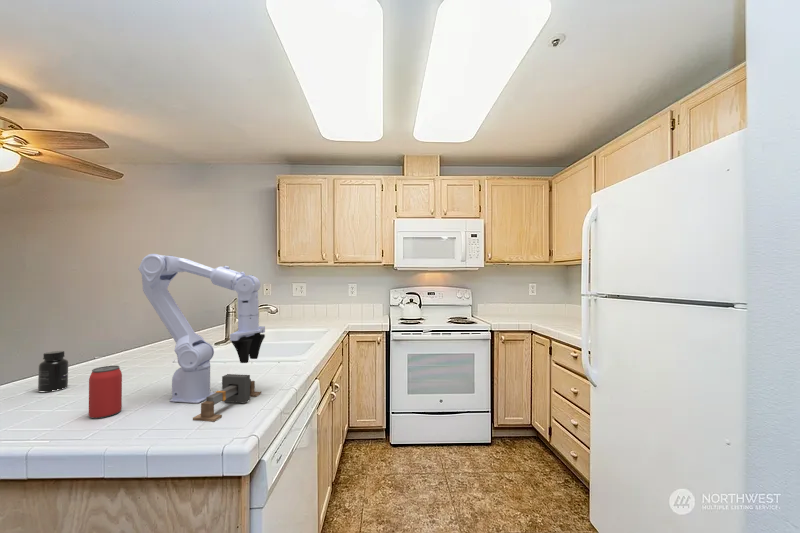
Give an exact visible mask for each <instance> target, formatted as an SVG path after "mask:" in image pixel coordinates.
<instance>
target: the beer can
mask: <svg viewBox="0 0 800 533" xmlns="http://www.w3.org/2000/svg"><path fill="white" fill-rule="evenodd" d="M122 394H123V372H122V370H121V369H120V366H119V365H105V366H99V367H96V368H93V369H91V374H90V375H89V379H88V417H89V418H91V419H102V418H101V417H104V418H108V417H107V416H109V417H112V416H114V414H115V415H116V414H118V413H120V412H121V411H122V407H123V406H122V403H123V402H122V401H123V399H122V397H123V395H122ZM111 415H112V416H111Z"/></svg>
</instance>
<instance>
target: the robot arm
mask: <svg viewBox="0 0 800 533" xmlns="http://www.w3.org/2000/svg"><path fill="white" fill-rule="evenodd" d="M138 271H139V272H140V274H141V279H142V280H141V283H142V292H143V294H144V295H145V296H146V298H147V300H148V301H149V303H150V305H151V307H153V309H154V311H155V312H156V314H157V315H158V317H159V318H160V321H162V323H163V324H164V326H165V328H166V329H167V331H168V332H169V335H171V338H173V340H174V342H175V347H174V352H175V354H176V357H177V358H176V359H177V363H178V365H179V368H178V369H176V370H175V371H174V373H173V375H172V378H171V399H169V402H174V403H189V404H190V403H192V404H193V403H194V404H200V403H202V402H205V401H206V397H208V396H210V395H212V394H214V393H215V392H216V391H211V360H212V358H214V355H215V354H214V353H215V350H214V347H213V345H212V344H210V343H209V342H207V341H206V340H205V339H204V337H203V336H201V335H200V334H198V333H196V331H195V330H194V329H193V327H192V326H191V324H190V322H189V321H188V319H187V318H186V316H185V315H184V313H183V312H182V310H181V309H180V306H178V304H177V303H176V301H175V299H174V297H173V296H172V294H171V293H170V291H169V290H168V288H169V287H170V286H169V285H170V284H171V281H173V279H174V278H175V277H176V276H177V275H178V273H184V272H185V273H190V274H193V275H197V276H199V277H204V278H207V279H209V280H210V282H211V284H213V286H214V285H215V286H219V287H221V288H224V289H227V290H231V291H233V292H236V293H237V330H236V331H235V332H232V333H230V334H229V341H230V342H231V344H232V345H233V347H234V349H235V351H236V352H237V356H238V359H239V363H240V364H247V363H249V359H250V360H258V358H259V353H260V349H261V346H262V344H263V341H264V339H265V337H266V334H265V332H266V326H260V318H259V313H260V312H259V308H260V307H259V290H260V288H261V281H260V279H259V278H258V277H257V276H255V275H252V274H248V275H247V274H246V272H245V271H237V270H233V269H230V266H228V265H224V266H222V265H221V266H217V267H215V268H213V267H212V266H207V265H205V264H202V263H200V262H197V261H193V260H192V259H189V258H183V257H177V256H175V255H174V256H173V255H164V254H158V253H149V254H147V255H145V256H144V257H143V258H142V260H141V262H140V264H139V266H138Z"/></svg>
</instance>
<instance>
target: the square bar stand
mask: <svg viewBox="0 0 800 533" xmlns="http://www.w3.org/2000/svg"><path fill="white" fill-rule="evenodd" d="M255 383H256V382H255V380H252V379H251V378H250V398H256V397H259V396H260V395H262V391H255V390H256V388H255ZM214 392H215V393H214V394H212V395H210V396H208V397H206V400H204V401H202V402H200V413H199V414H197V415H195V416H193V417H192V421H199V422H201V421H202V422H216V421H218V420H220V419H221V418H222V417H223V414H217V413H216V414H215V405H217V404H219V403H221V402H222V401H225V400H226V399H227V398H229V397H230V396H232V395H234V394H236V393H238V384H233V385H231V386H229V387H227V388H224V389H222V388H221V389H220V390H217V391H214Z"/></svg>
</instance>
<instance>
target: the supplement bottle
mask: <svg viewBox="0 0 800 533" xmlns="http://www.w3.org/2000/svg"><path fill="white" fill-rule="evenodd" d="M64 357H65V351H64V350H56V351H49V352H44V353H43V357H42V360H43V361H42V362H40V363H39V365H38V375H37V376H38V380H37V385H38V386H37V391H38V392H39V391H52V390H57V389H62V388H65V387H68V385H69V361H68V360H67V359H66V358H64ZM65 389H66V388H65ZM62 390H63V389H62Z"/></svg>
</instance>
